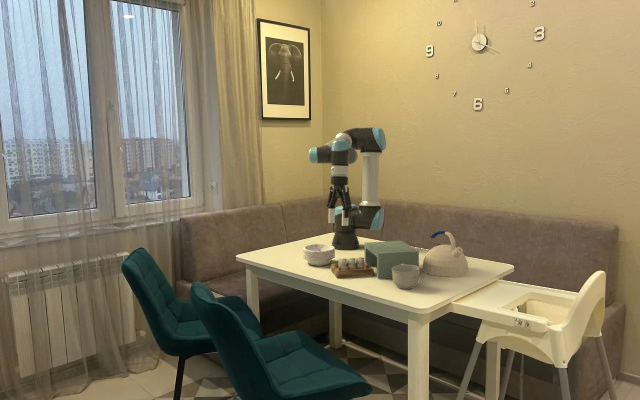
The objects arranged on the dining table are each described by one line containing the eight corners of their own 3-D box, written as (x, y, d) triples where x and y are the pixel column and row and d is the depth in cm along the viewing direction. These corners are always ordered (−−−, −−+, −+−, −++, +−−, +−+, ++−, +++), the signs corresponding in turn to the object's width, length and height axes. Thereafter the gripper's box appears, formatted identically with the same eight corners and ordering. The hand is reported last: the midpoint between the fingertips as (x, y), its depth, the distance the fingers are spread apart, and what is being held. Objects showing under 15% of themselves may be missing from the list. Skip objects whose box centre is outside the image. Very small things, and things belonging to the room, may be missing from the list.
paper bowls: (320, 269, 220) (319, 252, 218) (296, 263, 230) (296, 247, 229) (341, 262, 231) (341, 246, 230) (318, 257, 241) (318, 242, 240)
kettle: (441, 279, 202) (442, 237, 199) (412, 267, 220) (413, 229, 218) (479, 273, 210) (480, 233, 207) (448, 262, 228) (449, 225, 226)
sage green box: (364, 265, 225) (364, 242, 223) (401, 263, 228) (401, 240, 227) (378, 278, 203) (378, 253, 202) (418, 276, 207) (418, 251, 205)
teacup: (419, 291, 186) (419, 271, 185) (390, 290, 188) (391, 270, 187) (419, 281, 200) (419, 262, 199) (392, 279, 202) (392, 261, 201)
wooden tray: (330, 271, 217) (330, 256, 216) (364, 269, 220) (364, 254, 219) (337, 279, 205) (337, 263, 204) (372, 276, 208) (372, 260, 208)
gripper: (320, 175, 220) (318, 222, 220) (344, 175, 197) (343, 226, 197) (334, 176, 223) (333, 222, 223) (360, 175, 200) (359, 226, 200)
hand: (338, 224), depth 210 cm, fingers open, 13 cm apart
